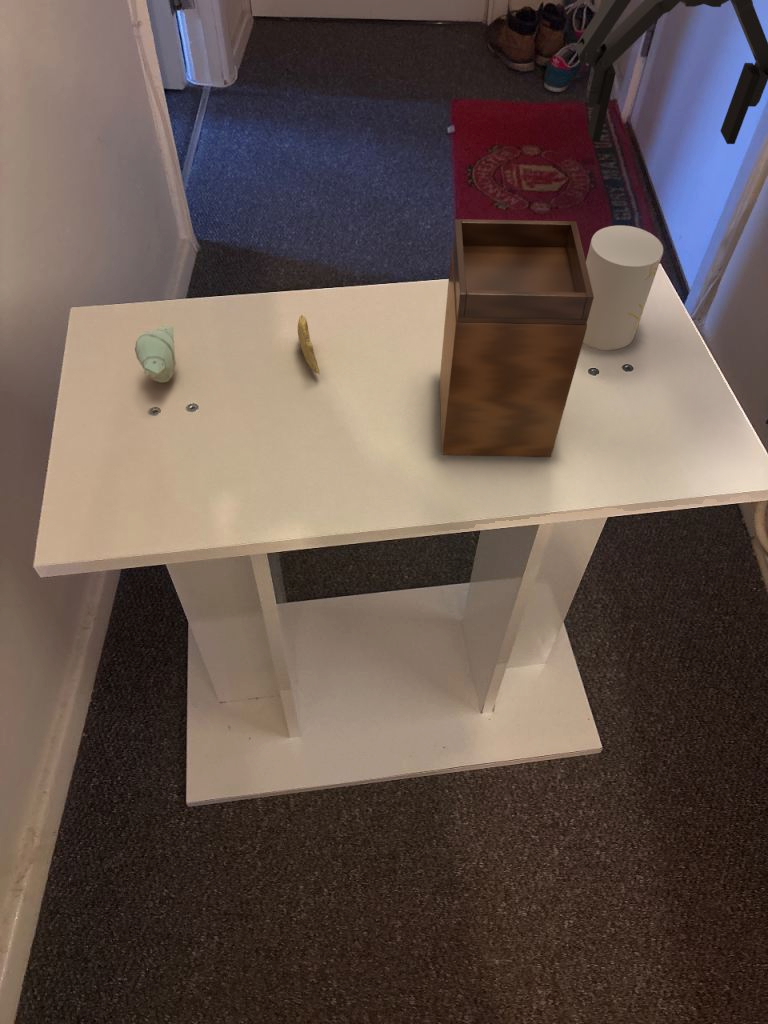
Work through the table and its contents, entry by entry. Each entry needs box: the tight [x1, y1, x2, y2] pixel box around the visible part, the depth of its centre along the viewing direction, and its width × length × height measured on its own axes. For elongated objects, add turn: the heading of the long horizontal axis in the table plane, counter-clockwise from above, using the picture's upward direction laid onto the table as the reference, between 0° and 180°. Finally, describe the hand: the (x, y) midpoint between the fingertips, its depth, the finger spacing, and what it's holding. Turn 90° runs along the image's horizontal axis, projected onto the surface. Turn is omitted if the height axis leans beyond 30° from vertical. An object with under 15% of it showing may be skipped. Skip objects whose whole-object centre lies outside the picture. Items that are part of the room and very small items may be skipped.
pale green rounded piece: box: [134, 326, 176, 384], centre depth 87 cm, size 8×4×7 cm, turn 177°
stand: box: [439, 246, 587, 458], centre depth 79 cm, size 12×12×18 cm
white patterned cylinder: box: [582, 225, 664, 351], centre depth 91 cm, size 8×8×12 cm
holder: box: [452, 218, 594, 325], centre depth 71 cm, size 12×12×3 cm
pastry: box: [297, 314, 321, 376], centre depth 90 cm, size 9×2×5 cm, turn 17°
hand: (660, 136), depth 77 cm, fingers open, 13 cm apart
